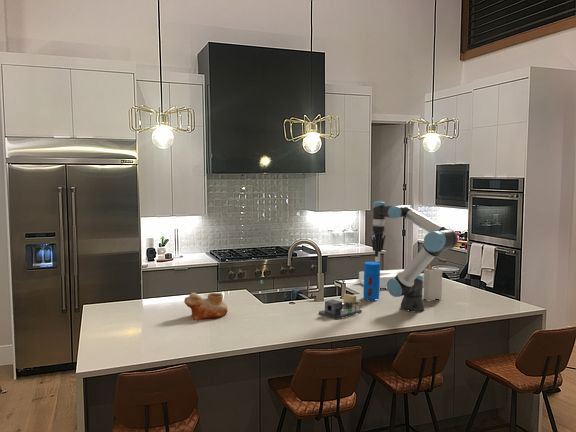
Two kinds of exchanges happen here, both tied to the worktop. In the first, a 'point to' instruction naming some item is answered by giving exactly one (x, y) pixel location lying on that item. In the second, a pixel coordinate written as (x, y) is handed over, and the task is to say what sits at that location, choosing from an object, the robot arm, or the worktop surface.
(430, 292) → the beige tall box
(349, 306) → the pointer
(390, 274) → the bread box
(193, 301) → the ceramic vessel
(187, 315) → the worktop surface
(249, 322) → the worktop surface
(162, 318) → the worktop surface
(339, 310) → the circuit board
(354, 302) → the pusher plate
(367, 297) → the thermos
